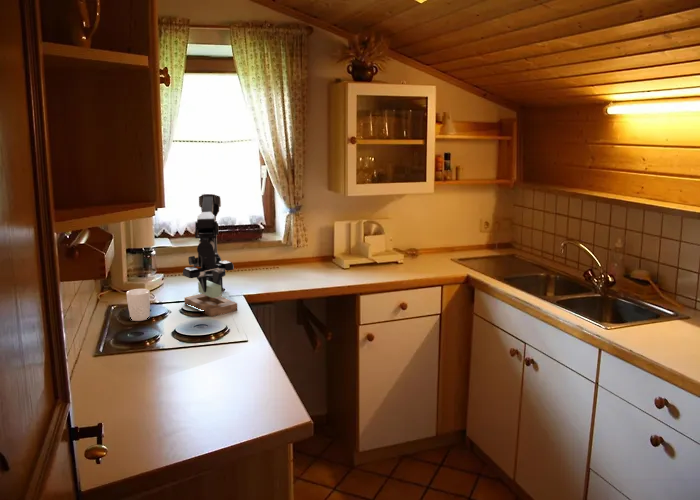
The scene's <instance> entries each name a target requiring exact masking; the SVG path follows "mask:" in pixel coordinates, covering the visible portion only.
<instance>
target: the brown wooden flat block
mask: <svg viewBox="0 0 700 500" xmlns="http://www.w3.org/2000/svg"><path fill="white" fill-rule="evenodd" d="M185 304H188V305H191V306H194V307H196V308H198V309H201V310H204V311H205V314H204V315H207V316H209V317H211V318H213V317H216V316H217V317H218V316H221V315H225V314H229V313H233V312H236V311H238V303H237V302H235V301H233V300H230V299H228V298H225V297H222V296H219V297H215V298H211V297H209V296H206V295H204V294H202V293H199V294H194V295H190V296H189V295H188V296H186V297H184V305H185Z"/></svg>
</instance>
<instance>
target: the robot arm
mask: <svg viewBox="0 0 700 500" xmlns="http://www.w3.org/2000/svg"><path fill="white" fill-rule="evenodd" d="M221 206H222V201H221V196H219V195H216V194H215V193H213V192H212V193H211V192H210V193H206V192H205V193H202V194H201V195H200V196H198V207H199V208H200V211H201V214H198V215H197V221H195V228H194V229H195V231H194V233H195V235H194V236H195V237H194V239H199V240H198V245H197V248H196V251H197V257H195V255H192V256H188V265H190V266H188V267H185V268H184V269H183V270H182V276H184V277H185V278H188V279H194V278H196V279H197V280H198V282H200V284H201V287H202V289H203V291H204V292H206V288H207V280H208V281H210V282H213V283H216V284H218V285H221V292H222V291H225V290H226V289H225V288H224V285H223V277H225V276H226V271H234V263H233V262H232V261H229V260H222V257H221V256H220V253H218V237H217V236H218V235H219V223H218V221H217V215H218V214H219V212H220V208H221ZM197 267H198V268H197Z"/></svg>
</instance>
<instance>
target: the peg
mask: <svg viewBox="0 0 700 500" xmlns="http://www.w3.org/2000/svg"><path fill="white" fill-rule="evenodd" d="M197 285H198V286H197V288H198V289H197V290H198V293H199V294H204V295H206V296H209V297H211V298H215V297H219V296H221V297H222V291H221V285H218V284H216V283H213V282H210V281H208V280H207V288H206V292H204V291H203V289H202V287H201V284H200V282H199V281H198V282H197Z"/></svg>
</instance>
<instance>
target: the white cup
mask: <svg viewBox="0 0 700 500" xmlns="http://www.w3.org/2000/svg"><path fill="white" fill-rule="evenodd" d="M150 292H151V291H150V290H149V289H148V288H134V289H130V290H128V291H126V293H125V294H126V301H127V307H128V313H129V318H130V317H131V319H132V320H131V319H130V320H131V321H132V322H133V321H135V322H142V321H146V320H148V319H149V318H150V317H151V313H150V312H151V311H150V310H151V308H150V307H151V300H150V299H151V298H150V297H151V295H150V294H151V293H150ZM149 316H150V317H149ZM148 317H149V318H148ZM147 318H148V319H147Z"/></svg>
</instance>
